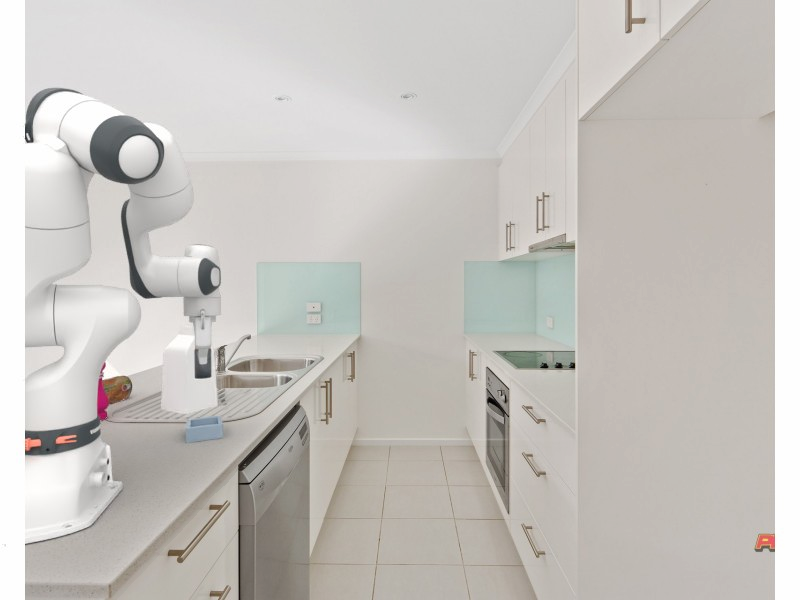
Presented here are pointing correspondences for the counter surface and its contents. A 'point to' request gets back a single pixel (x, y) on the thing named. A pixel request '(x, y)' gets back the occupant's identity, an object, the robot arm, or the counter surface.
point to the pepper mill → (102, 397)
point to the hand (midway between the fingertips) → (203, 362)
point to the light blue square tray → (204, 429)
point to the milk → (186, 377)
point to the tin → (117, 388)
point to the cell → (202, 365)
